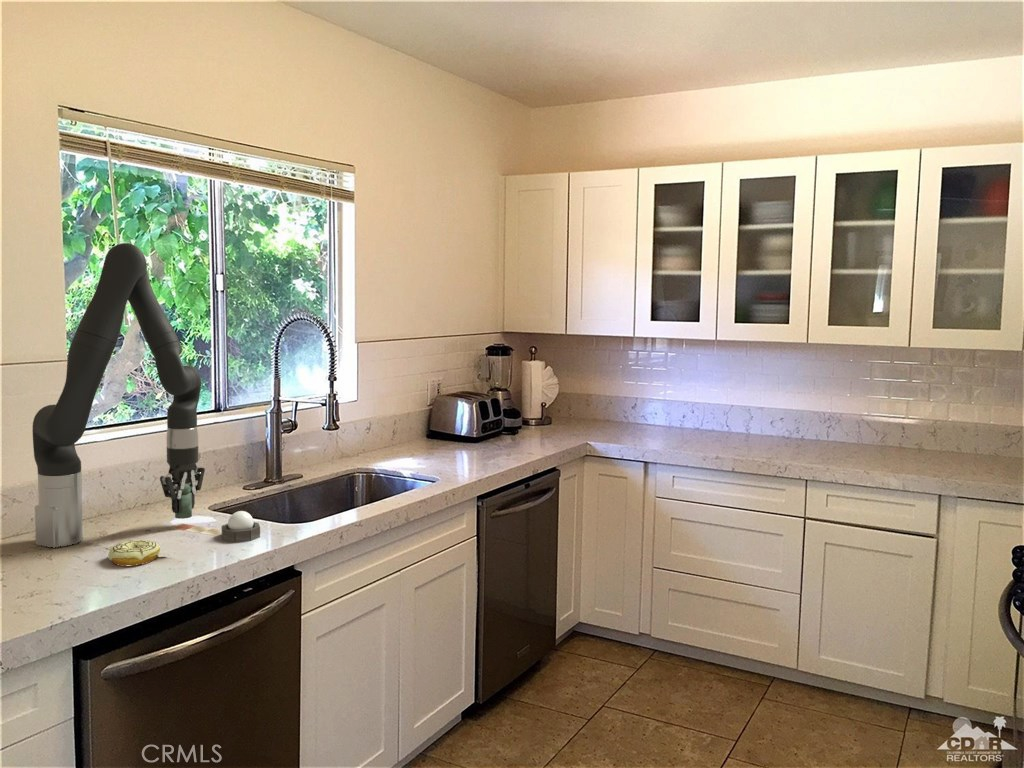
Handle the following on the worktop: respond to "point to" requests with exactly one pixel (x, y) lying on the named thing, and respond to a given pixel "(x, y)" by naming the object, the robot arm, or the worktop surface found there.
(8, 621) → the worktop surface
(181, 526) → the game board
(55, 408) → the robot arm
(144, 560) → the decorated donut
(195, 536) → the worktop surface
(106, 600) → the worktop surface
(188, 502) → the pawn
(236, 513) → the white ball
